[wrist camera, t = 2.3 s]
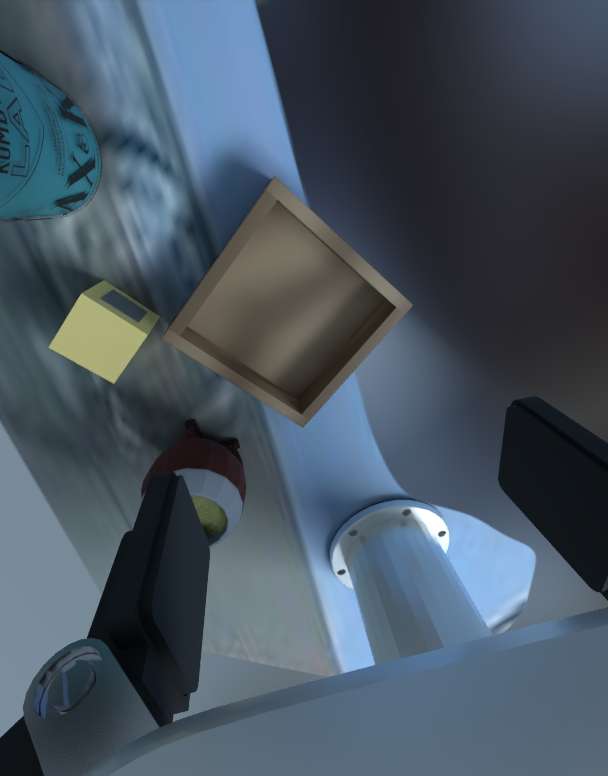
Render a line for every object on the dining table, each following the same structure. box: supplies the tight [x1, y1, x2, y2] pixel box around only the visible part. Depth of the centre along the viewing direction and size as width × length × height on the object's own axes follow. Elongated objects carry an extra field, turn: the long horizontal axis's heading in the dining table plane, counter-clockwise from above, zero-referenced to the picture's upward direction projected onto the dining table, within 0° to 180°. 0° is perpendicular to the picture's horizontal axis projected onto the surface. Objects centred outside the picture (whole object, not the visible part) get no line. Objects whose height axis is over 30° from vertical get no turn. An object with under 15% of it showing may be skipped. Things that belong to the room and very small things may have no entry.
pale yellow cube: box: [49, 280, 160, 384], centre depth 24 cm, size 4×4×4 cm
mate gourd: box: [141, 419, 246, 548], centre depth 25 cm, size 8×8×15 cm
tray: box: [162, 177, 413, 427], centre depth 26 cm, size 12×12×3 cm
